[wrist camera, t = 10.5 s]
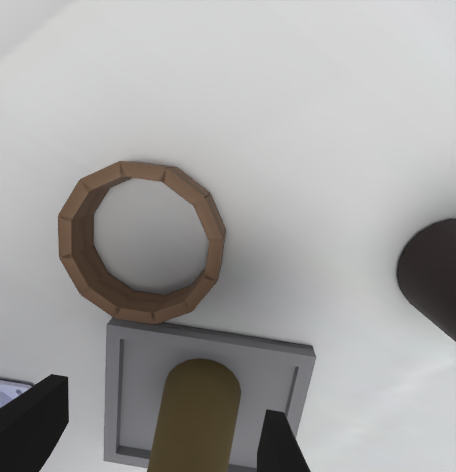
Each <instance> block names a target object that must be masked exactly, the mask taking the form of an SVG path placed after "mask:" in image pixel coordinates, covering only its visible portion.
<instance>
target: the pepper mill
mask: <svg viewBox="0 0 456 472" xmlns="http://www.w3.org/2000/svg"><path fill="white" fill-rule="evenodd" d="M240 398H241V388H240V384H239V381H238V379H237V378H236V376H235V375H234V373H233V372H232V371H231V370H229V369H228V368H227V367H226V366H225V365H223V364H221V363H218V362H216V361H214V360H209V359H202V358H198V359H190V360H186V361H184V362H182V363H180V364H178V365H176V366H175V367H174V368H173V369H172V370H171V371H170V372H169V374H168V376H167V378H166V381H165V385H164V390H163V395H162V400H161V405H160V410H159V415H158V420H157V425H156V430H155V434H154V439H153V444H152V449H151V454H150V459H149V464H148V469H147V472H227V470H228V464H229V459H230V453H231V448H232V443H233V437H234V432H235V426H236V421H237V415H238V410H239V404H240Z"/></svg>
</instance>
